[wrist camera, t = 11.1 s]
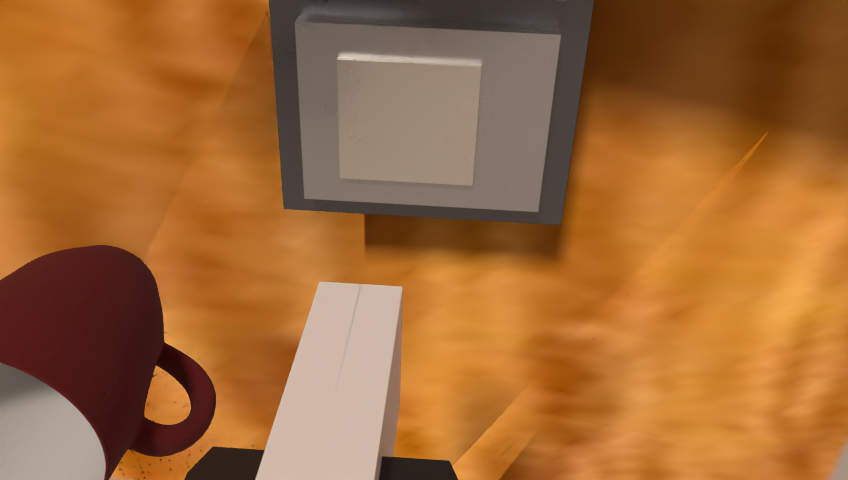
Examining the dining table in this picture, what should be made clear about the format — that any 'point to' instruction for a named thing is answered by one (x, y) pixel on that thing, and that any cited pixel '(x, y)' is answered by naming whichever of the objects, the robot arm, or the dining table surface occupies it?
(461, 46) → the grey stepped machine part
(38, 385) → the mug
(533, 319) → the dining table surface
